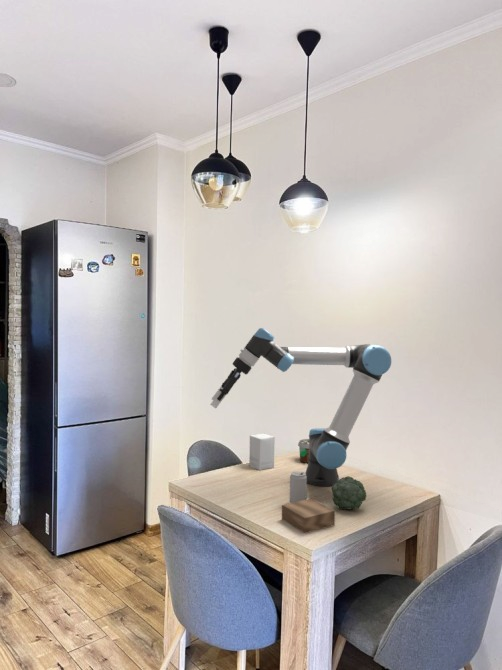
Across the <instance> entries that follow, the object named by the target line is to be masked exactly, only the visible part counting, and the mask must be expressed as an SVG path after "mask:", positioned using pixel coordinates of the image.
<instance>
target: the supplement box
mask: <svg viewBox="0 0 502 670" xmlns="http://www.w3.org/2000/svg"><path fill="white" fill-rule="evenodd" d="M275 438H276V437H275V436H272V435H269V434H266V433H257V434H251V435H249V458H248V459H249V465H248V466H249V467H251V468H253V469H256V470H258V471H263V470H269V469H274V468H275V444H276V443H275V440H276V439H275Z"/></svg>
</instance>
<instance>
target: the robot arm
mask: <svg viewBox="0 0 502 670" xmlns="http://www.w3.org/2000/svg"><path fill="white" fill-rule="evenodd" d="M274 339H275V335H273V334H271V332H269V331H268V330H266V329H265V328H264V327H259V328H258V329H257V330H256V332H255V333H254V334H253V335H252V336H251V338H250V339H249V341H248V342H247V343H246V345H245V346H244V347H243V349H240V353H239V354H238V356H239V357H237V356H236V358H235V359H234V361H233V362H232V365H233V367H235V368H234V369H233V370H231V371H230V373H229V374H228V376H227V378H226V379H225V380H224V382H222V383H221V386H220V387H219V388H218V389H217V391H216V392H215V393H214V395H213V396H212V397H211V400H212V401H211V403H210V405H211V406H212V407H213V408H214V409H217V408H218V407H219V405H220V404H221V402H222V401H223V400H224V399H225V397H226V396H227V395H229V392H230V391H231V390H232V388H233V387H234V385H235V384H236V383H237V382H238V380H239V379H240V378H241V375H242V374H244V375H248V374H249V373H250V372H251V370H252V369H253V368H252V367H255V365H256V364H257V362H258V361H259V360H260V358H261V357H263V358H264V359H265V360H266V361H268V362H269V363H270V364H272V365H273V366H274V367H275V368H277V369H278V370H280V371H281V372H282V373H284V372H285V373H286V371H288V370H289V369H290V367H291V366H292V365H305V366H307V365H311V366H312V365H315V366H316V365H317V366H318V365H319V366H322V365H323V366H344V367H345V368H347V369H348V368H349V369H350V368H351V369H352V372H353V376H352V379H351V380H350V383H349V385H348V387H347V389H346V391H345V392H344V393H345V394H344V396H343V398H342V400H341V402H340V404H339V406H338V408H337V411H336V412H335V413H334V414H335V415H334V417H333V419H332V421H331V422H330V425H329V426H328V427H326V428H325V427H324V428H323V427H321V428H320V427H319V428H317V427H315V428H311V429H309V433H308V439H309V463H308V464H307V466H306V470H305V473H306V476H307V484H309V485H314V486H317V487H318V486H319V487H330V486H331V487H332V486H333V485H334V484H336V483H337V482H338V481H339V479H340V475H339V473H338V468H340V467H342V466H343V465H344V464H345V462H346V460H347V449H348V447H349V445H350V443H351V441H350V437H349V436H350V434H351V432H352V430H353V428H354V426H355V423H356V421H357V420H358V417H359V416H360V414H361V411H362V409H363V407H364V405H365V402H366V401H367V400H368V397H369V395H370V392H371V391H372V389H373V386H374V385H375V384H377V383H378V384H379V382H380V380H381V378H382V376H383V375H385V373H387V372H388V371H389V370H390V368H391V366H392V356H391V353H390V352H389V351H388V350H387V349H386V348H385V347H383V346H381V345H378V344H369V343H363V344H356V345H346V346H344V347H313V346H311V347H310V346H309V347H308V346H307V347H305V346H279V345H278V344H276V342H275V341H274Z"/></svg>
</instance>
